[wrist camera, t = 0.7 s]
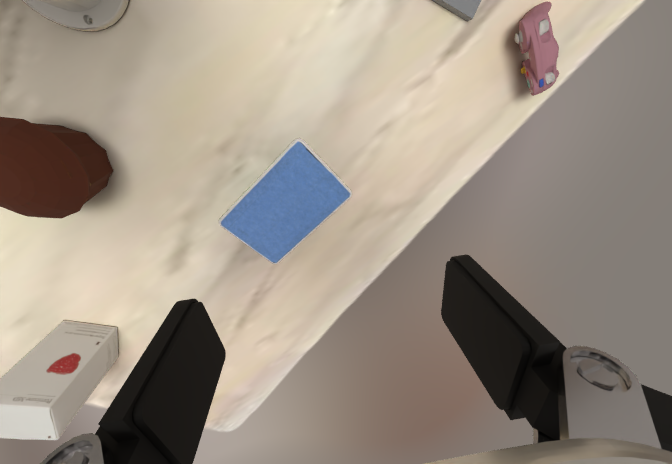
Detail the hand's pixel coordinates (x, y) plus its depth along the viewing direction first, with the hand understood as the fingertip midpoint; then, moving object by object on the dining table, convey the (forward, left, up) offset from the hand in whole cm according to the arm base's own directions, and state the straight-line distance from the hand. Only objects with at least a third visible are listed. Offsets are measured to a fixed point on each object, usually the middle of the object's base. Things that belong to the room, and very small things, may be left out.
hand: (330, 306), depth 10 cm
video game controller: (+24, +22, -33) cm, 46 cm away
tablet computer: (-1, -10, -33) cm, 35 cm away
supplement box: (-29, -48, -33) cm, 65 cm away
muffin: (-30, -12, -33) cm, 46 cm away
